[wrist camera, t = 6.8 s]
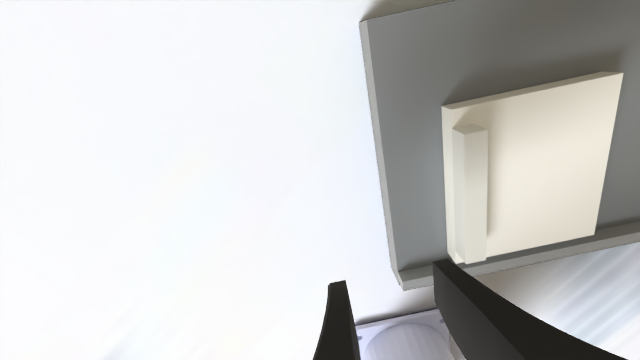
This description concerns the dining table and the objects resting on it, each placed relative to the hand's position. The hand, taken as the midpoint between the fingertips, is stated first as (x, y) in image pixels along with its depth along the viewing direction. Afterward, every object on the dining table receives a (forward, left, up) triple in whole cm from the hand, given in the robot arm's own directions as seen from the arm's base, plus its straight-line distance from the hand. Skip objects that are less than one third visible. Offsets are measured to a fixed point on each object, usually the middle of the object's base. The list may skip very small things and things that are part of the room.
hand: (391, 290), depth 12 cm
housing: (+2, -13, -9) cm, 16 cm away
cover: (0, -10, -7) cm, 12 cm away
